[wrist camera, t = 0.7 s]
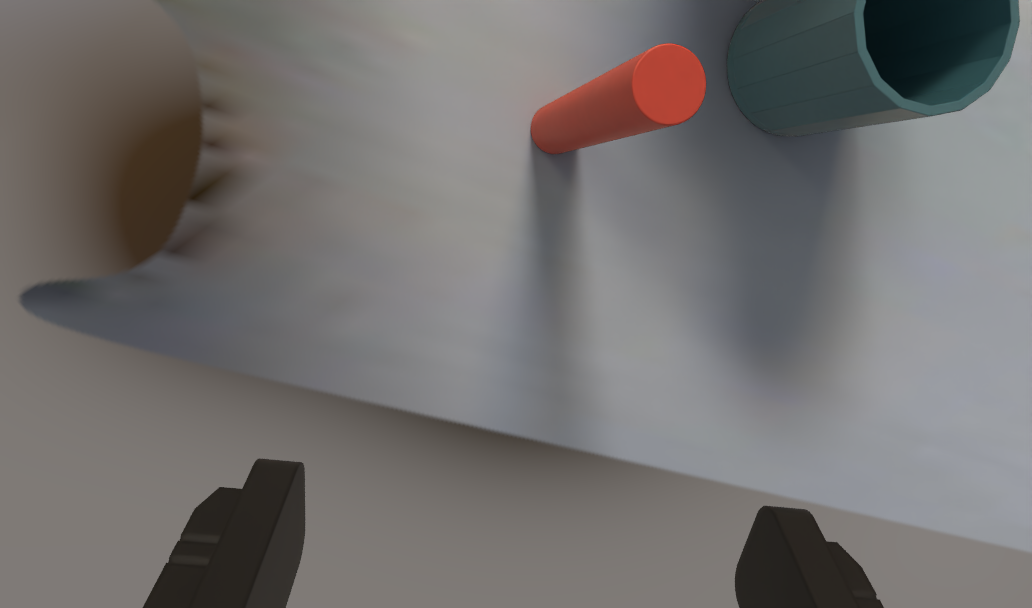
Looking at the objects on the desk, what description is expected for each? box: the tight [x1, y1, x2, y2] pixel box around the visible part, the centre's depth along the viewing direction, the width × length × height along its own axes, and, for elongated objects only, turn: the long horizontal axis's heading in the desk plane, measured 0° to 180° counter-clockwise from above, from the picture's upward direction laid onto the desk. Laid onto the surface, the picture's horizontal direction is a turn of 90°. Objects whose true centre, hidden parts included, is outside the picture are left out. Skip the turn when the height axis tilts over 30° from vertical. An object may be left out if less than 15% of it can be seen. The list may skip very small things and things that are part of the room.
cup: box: [727, 0, 1020, 136], centre depth 32 cm, size 7×7×10 cm
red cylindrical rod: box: [531, 43, 706, 154], centre depth 28 cm, size 2×2×14 cm
